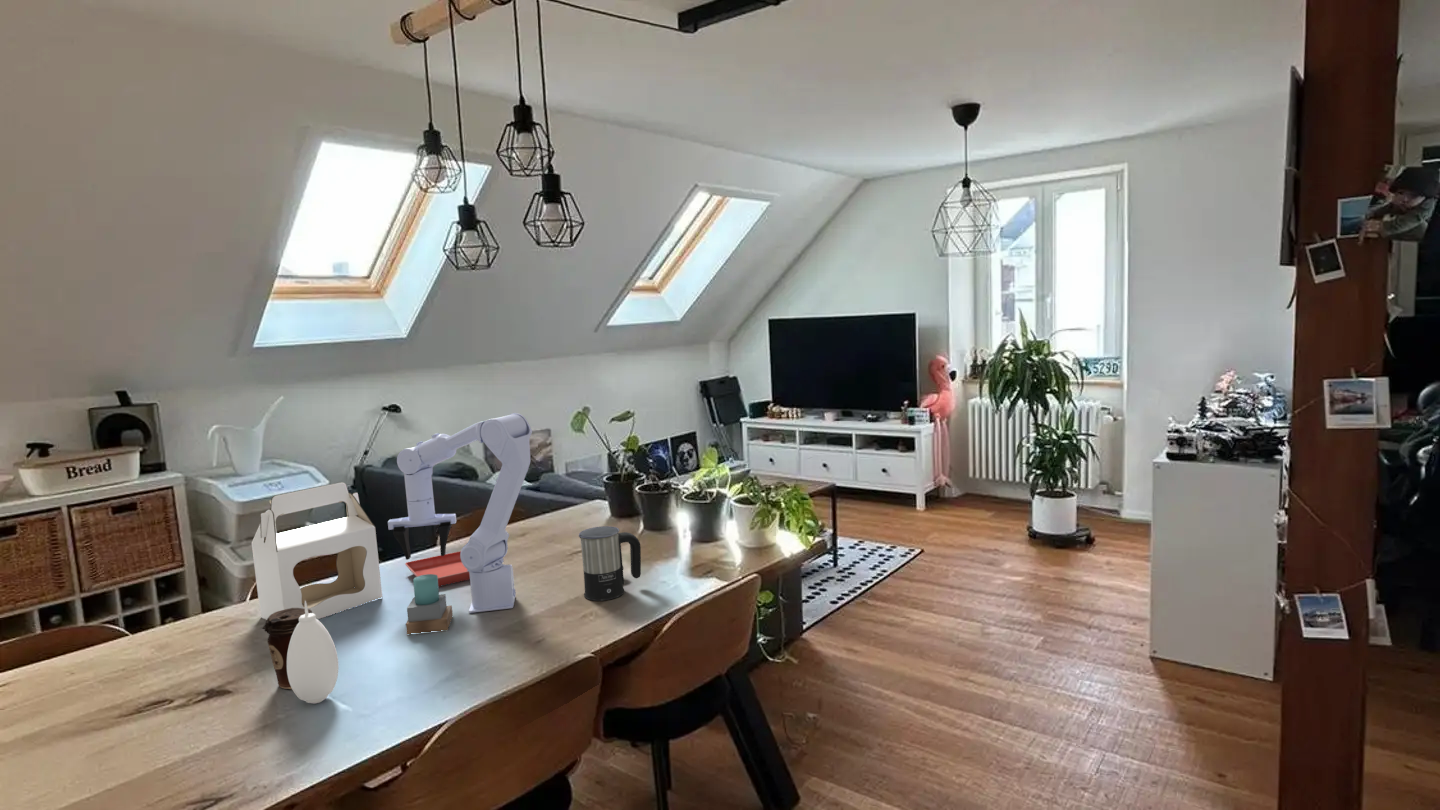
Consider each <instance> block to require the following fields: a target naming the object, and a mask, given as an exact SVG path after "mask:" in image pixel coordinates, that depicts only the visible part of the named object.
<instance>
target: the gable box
mask: <svg viewBox="0 0 1440 810" xmlns="http://www.w3.org/2000/svg"><path fill="white" fill-rule="evenodd" d="M268 503H269V505H270V507H269V508H270V509H267V510H266V511H265V512H260V513H259V520H260V521H259V522H260V523H259V524H258V527H257V529H256V531H255V534H254V536H253V539H252V540H251V549H252V556H253V557H252V558H253V566H254V573H255V581H256V582H255V583H256V590H257V599H258V605H259V606H258V607H259V613H260V614H259V615H260V618H261V619H263V620H265V621H266V620H267V619H268V617H269V616H270V615H271V614H273V613H275V612H277V611H281V610H284V609H289V608H303V609H305V601H306V603H307V608H308V609H310V610H311V611H312V613H314V614H315V615H316V618H317V620H320V619H324V618H326V616H327V617H330V616H333V615H336V614H339V613H341V612H340V611H342V612H345V611H347V610H346V609H348V610H350V609H349V608H351V609H353V608H352V607H354V608H356V606H357V607H359V606H358V605H360V606H362V605H361V604H363V605H365V604H364V603H366V602H369V601H372V600H375V599H378V598H381V597H382V598H383V590H382V588H383V587H382V581H381V569H380V563H379V561H380V560H379V553H378V551H379V550H378V542H377V534H376V533H377V532H376V525H375V524H374V523H373V522H372V520H371V518H370V517H369V516H368V514H367V513H366V512H365V510H364V508H363V507H362V506H361V504H360V497H359V494H358V492H353V493H351V492H349V490H348V487H347V484H346V483H345V482H343V481H339V482H334V483H329V484H326V485H325V484H324V485H321V486H316V487H311V488H305V489H300V490H295V491H289V492H284V493H281V494H280V493H279V494H276V495H273V496H272V497H271V498H270V499H269V500H268ZM337 503H338V504H341V503H344V504H345V506H346V509H345V510H346V517H342V518H337V519H336V518H335V519H333V520H329V521H323V522H320V523H317V524H311V525H309V526H303V527H300V528H296V529H291V530H287V531H282V532H279V533H278V531H277V524H276V521H277V518H278V517H282V516H284V515H287V514H292V513H297V512H301V511H305V510H311V509H314V508H319V507H325V506H328V505H332V504H337ZM334 554H337V556H336V564H335V566H336V571H337V578H336V579H335V580H334V581H332V582H328V583H323V582H322V583H313V584H309V585H305V586H303V587H300V585H299V584H298V582H297V580H296V579H295V576H294V568H295V567H296V565H297V564H298V563H300V562H301V561H304V560H306V559H308V558H312V557H316V556H326V555H334ZM372 602H373V601H372ZM369 603H370V602H369ZM366 604H367V603H366ZM344 610H345V611H344ZM338 612H339V613H338ZM335 613H336V614H335ZM332 614H333V615H332Z"/></svg>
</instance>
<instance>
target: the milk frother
mask: <svg viewBox="0 0 1440 810" xmlns="http://www.w3.org/2000/svg"><path fill="white" fill-rule="evenodd" d="M578 538H579V539H580V547H581V555H582V556H581V557H582V566H583V569H582V571H583V583H584V593H583V596H584V598H585V599H587V600H590V601H597V602H599V601H602V602H603V601H609V600H614V599H616V598H619V597H621V596H622V595H623V594H624V593H625V588H624V585H625V580H624V579H625V578H624V564H623V555H622V554H623V553H622V545H621V544H623V543H628V544H629V549H630V551H629V552H630V553H629V554H630V574H631V576H632V577H633V578H634V579H640V577H641V574H642V573H641V572H642V565H641V563H642V562H641V560H642V559H641V558H642V557H641V553H642V550H641V548H642V547H641V542H640V540H639V539H638V538H637V537H636V536H635V534H632V533H630V532H627V531H624V532H620V529H619V528H618V527H616V526H606V525H605V526H595V527H589V528H586V529H583V530H581V531H580V532H579V533H578Z"/></svg>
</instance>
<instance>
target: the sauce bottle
mask: <svg viewBox="0 0 1440 810" xmlns="http://www.w3.org/2000/svg"><path fill="white" fill-rule="evenodd" d="M339 668H340V667H339V657H338V652H337V649H336V646H335V642H334V640H333V638H332V636H331V634H330V632H329V631H328V629H327V628H326V627H325V625H324V623H322V622H321V621H320V619H318V620H317V619H316V615H315V614H314V613H308V608H307V603H306V601H305V614H304V615H301V616H300V617H299V623H298V624H297V626H296V628H295V630H294V632H293V634H292V637H291V640H290V643H289V647H288V652H287V675H288V680H289V683H290V686H291V688H292V689H291V690H292V692H293V693H294V694H295V696H297V698H298V699H299V700H300V701H304V702H305V703H307V704H312V705H313V704H319V703H321V702H323V701H324V700H326V699H327V697H328V696H329V695H330V694H331V693H332V692H333V691H334V689H335V686H336V684H337V680H338V676H339V670H340V669H339Z"/></svg>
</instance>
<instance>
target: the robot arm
mask: <svg viewBox="0 0 1440 810" xmlns="http://www.w3.org/2000/svg"><path fill="white" fill-rule="evenodd" d="M532 434H533V430H532V427H531V426H530V424H529V421H528V420H527V418H526V417H525V416H524V415H523V414H521V413H518V412H513V413H510V414H508V415H504V416H500V417H495V418H489V419H486V420H483V421H478V422H475V423H473V424H471V425H469V426H468V427H465V428H464V429H461V430H459V431H458V432H456V433H453V434H452V435H449V434H446V433H440V432H436V433H434V434H432V435H431V438H430V439H428V440H426V441H423V440H421V441H418V442H416V444H415V446H413V447H407V448H406V447H405V448H403V449H402V450H401V451H400V452H399V453H398V455H397V457H396V463H397V466H398V469H399V470H400V471H401V472H402V473H403V476H404V487H405V495H406V506H407V515H408V516H405V517H399V518H392V519H391V518H390V519H389V520H388V521H387V526H388V531H390V530H391V531H393V532H392V534H393V537H394V538H395V539H396V541H397V542H398V544H399V545H400V547H401V549H402V552H403V555H404V557H405V560H410V559H411V556H412V553H411V547H410V538H409V536H410V535H409V533H410V532H409V529H410V528H413V527H414V528H415V527H424V526H425V527H426V526H437V525H439V526H438V527H437V531H438V537H439V544H440V545H439V546H440V551H439V552H440V555H441V556H445V554H447V552H446V549H447V543H448V542H447V541H448V538H449V534H450V531H451V528H452V526H453V525H454V524H456V523H457V514H456V513H436V509H435V499H434V498H435V496H434V489H433V480H432V477H433V474H434V472H433V471H434V470H433V469H434V466H436V465H438V464H440V463H443V462H445V461H447V460H449V459H452V458H453V457H455V456H456V454H457V450H458V449H460V448H463V447H465V446H468V445H470V444H472V443H475V442H476V441H477V442H478V443H479V444H483V443H484V444H485V446H486V447H487V448H488V450H490V451H491V452H492V454H493V455H494V456H495V458H496V459H497V460H498V461H499V462H500V463H501V468H500V470H499V473H498V475H497V479H496V482H495V483H494V487H493V489H492V492H491V495H490V498H489V500H488V503H487V506H486V509H485V511H484V514H483V516H482V519H481V522H480V523H479V524H480V525H479V526H478V528H477V529H476V530H475V531H474V532H473V533H472V534H471V535H470V536H469V540H468V542H466V544H465V545H463V547H462V548H461V550H460V551H461V553H460V558H461V561H462V564H463V565H464V566H465V567H466V568H467V571H468V572H469V575H470V580H469V582H470V583H469V585H470V593H471V596H470V597H471V603H470V605H469V609H468V613H469V614H473V613H482V612H489V611H498V610H500V611H501V610H506V609H513V608H514V605H515V600H516V593H517V592H516V588H515V580H514V568H513V565H512V564H504V563H505V562H504V561H505V560H504V558H505V556H506V555H507V553H508V549H509V546H508V540H509V538H510V533H509V532H508V531H507V530H506V528H507V526H508V523H509V520H510V519H511V516H512V513H513V511H514V508H515V504H516V503H517V499H518V497H519V494H520V491H521V489H522V486H523V483H524V482H525V478H526V477H527V473H528V471H529V468H530V464H531V446H530V445H531V443H530V441H531V440H530V439H531V435H532Z"/></svg>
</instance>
